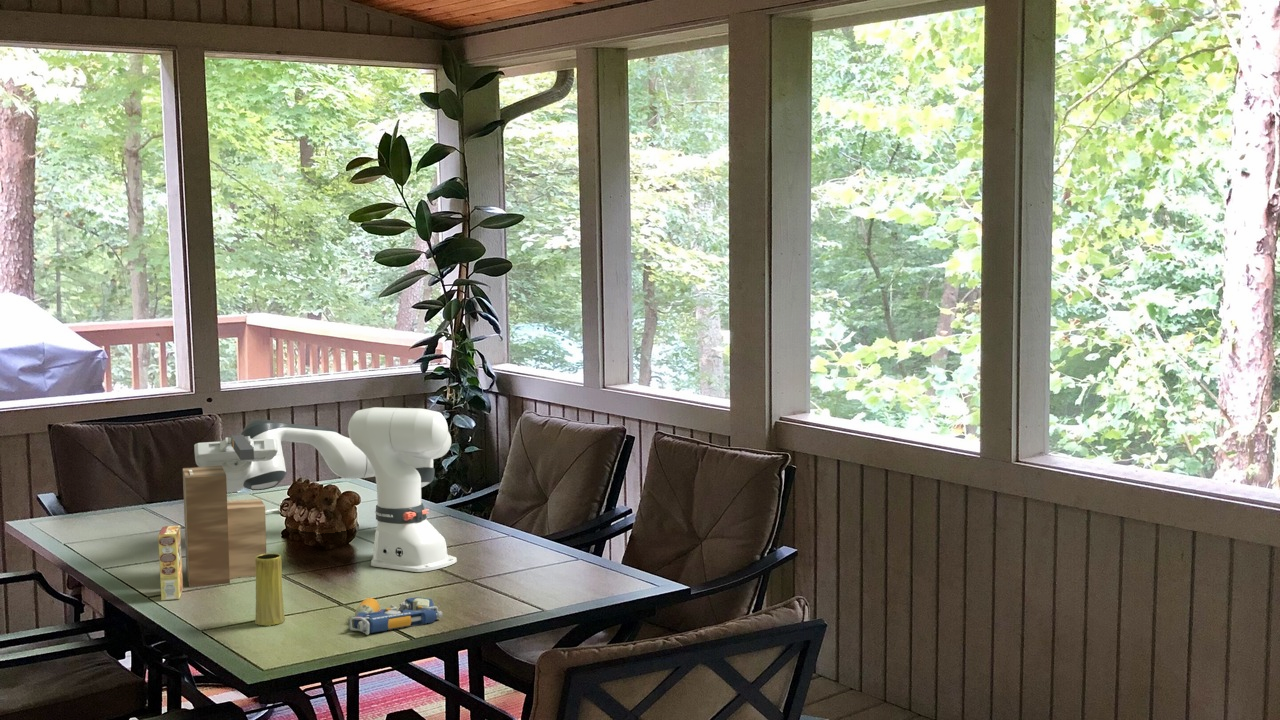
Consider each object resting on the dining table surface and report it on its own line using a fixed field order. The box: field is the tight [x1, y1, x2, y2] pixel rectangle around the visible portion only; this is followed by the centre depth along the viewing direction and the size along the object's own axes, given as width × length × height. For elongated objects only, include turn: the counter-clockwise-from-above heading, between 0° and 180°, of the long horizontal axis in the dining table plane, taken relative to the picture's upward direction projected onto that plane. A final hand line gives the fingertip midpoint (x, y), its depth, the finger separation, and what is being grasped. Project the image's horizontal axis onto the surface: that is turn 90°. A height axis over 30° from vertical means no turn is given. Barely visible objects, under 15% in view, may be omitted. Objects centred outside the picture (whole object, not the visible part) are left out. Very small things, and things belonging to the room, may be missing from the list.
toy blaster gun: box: [349, 596, 443, 636], centre depth 260 cm, size 21×4×15 cm
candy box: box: [157, 525, 184, 601], centre depth 278 cm, size 9×4×15 cm, turn 16°
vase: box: [254, 552, 286, 627], centre depth 258 cm, size 6×6×14 cm
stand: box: [182, 466, 268, 588], centre depth 295 cm, size 14×18×26 cm
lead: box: [230, 434, 254, 460], centre depth 296 cm, size 24×3×2 cm, turn 24°
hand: (238, 439), depth 305 cm, fingers closed on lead, 3 cm apart
